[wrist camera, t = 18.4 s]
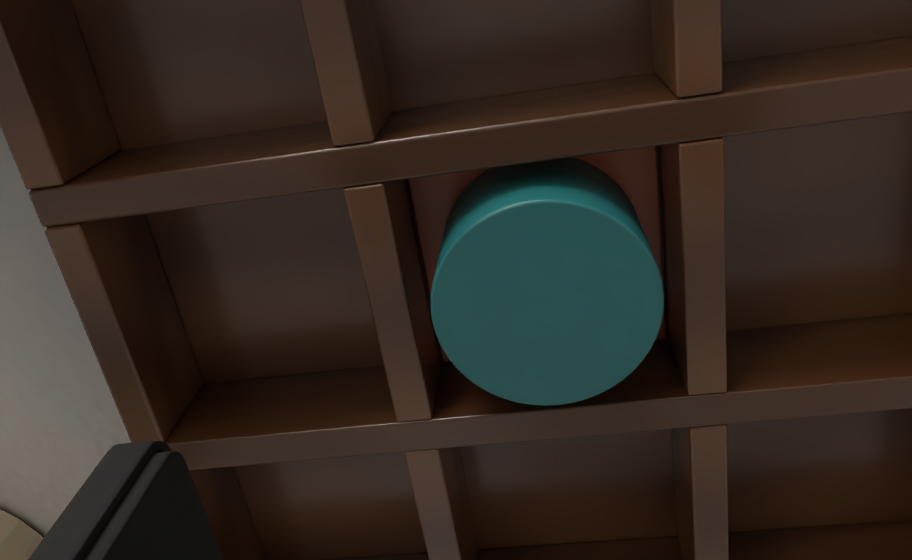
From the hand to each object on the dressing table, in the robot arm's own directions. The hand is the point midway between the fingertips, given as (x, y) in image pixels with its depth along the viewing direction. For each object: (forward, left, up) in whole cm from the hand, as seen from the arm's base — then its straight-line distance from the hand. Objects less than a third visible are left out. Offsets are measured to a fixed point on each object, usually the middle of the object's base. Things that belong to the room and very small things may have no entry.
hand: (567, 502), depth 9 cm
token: (0, 0, -9) cm, 9 cm away
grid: (0, 0, -10) cm, 10 cm away
